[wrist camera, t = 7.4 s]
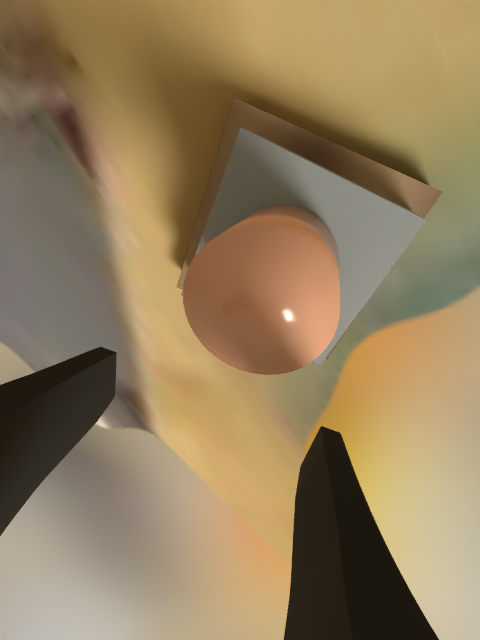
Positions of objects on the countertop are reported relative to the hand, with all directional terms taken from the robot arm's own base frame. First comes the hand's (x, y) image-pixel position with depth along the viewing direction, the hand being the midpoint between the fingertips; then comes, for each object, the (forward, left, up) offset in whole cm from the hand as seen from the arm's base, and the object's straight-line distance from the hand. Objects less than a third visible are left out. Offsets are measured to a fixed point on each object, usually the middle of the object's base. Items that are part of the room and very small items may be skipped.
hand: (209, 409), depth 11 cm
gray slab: (0, -4, -9) cm, 10 cm away
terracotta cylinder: (0, -4, -6) cm, 7 cm away
